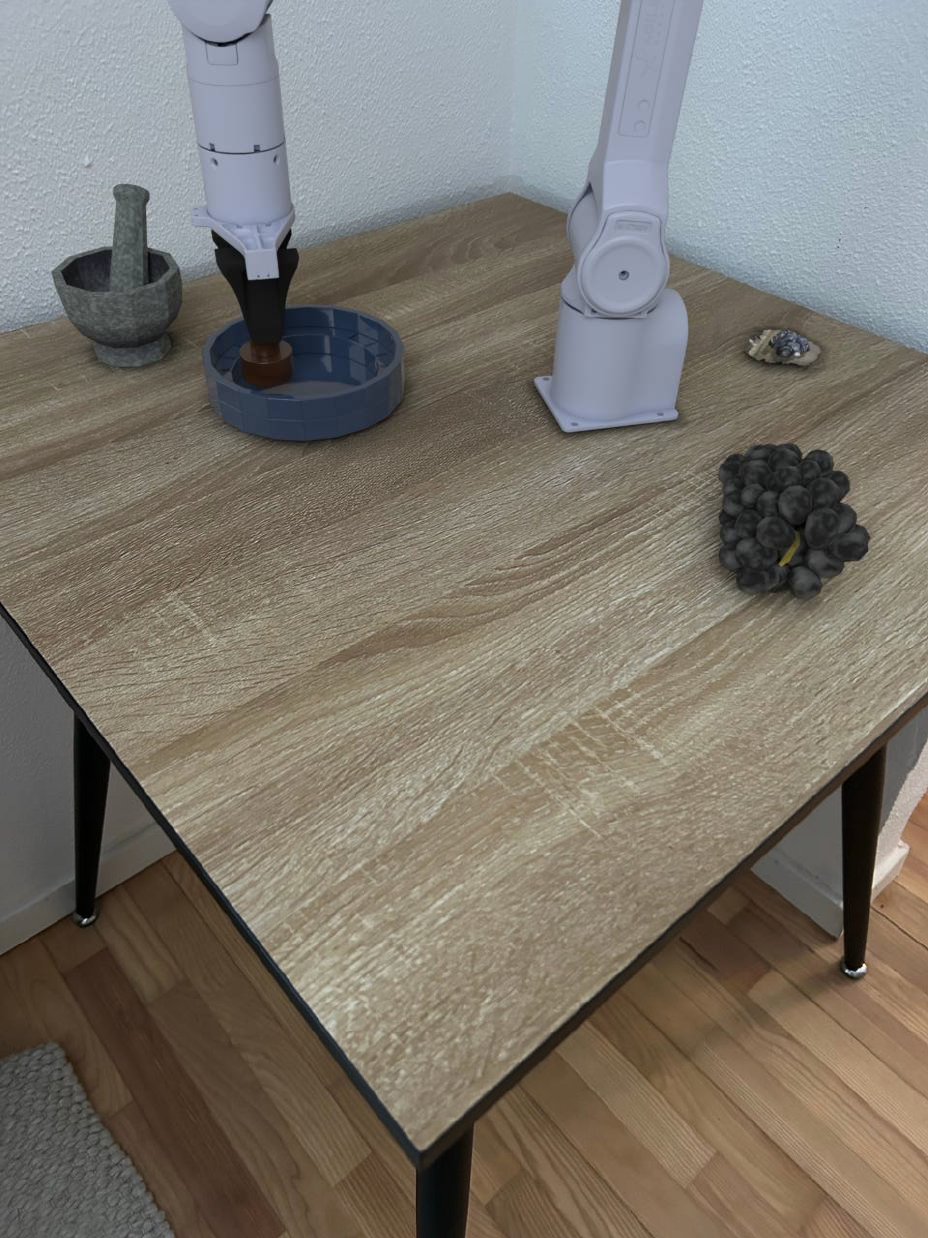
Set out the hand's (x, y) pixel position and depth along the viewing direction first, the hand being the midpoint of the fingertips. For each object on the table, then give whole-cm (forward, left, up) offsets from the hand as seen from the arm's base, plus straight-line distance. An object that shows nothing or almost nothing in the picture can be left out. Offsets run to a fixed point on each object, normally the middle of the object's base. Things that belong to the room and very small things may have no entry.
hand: (264, 332), depth 73 cm
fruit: (-30, +26, -6) cm, 40 cm away
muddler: (0, 0, -3) cm, 3 cm away
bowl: (-3, 0, -5) cm, 6 cm away
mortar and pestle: (+10, -11, -6) cm, 16 cm away
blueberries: (-44, +1, -6) cm, 44 cm away
